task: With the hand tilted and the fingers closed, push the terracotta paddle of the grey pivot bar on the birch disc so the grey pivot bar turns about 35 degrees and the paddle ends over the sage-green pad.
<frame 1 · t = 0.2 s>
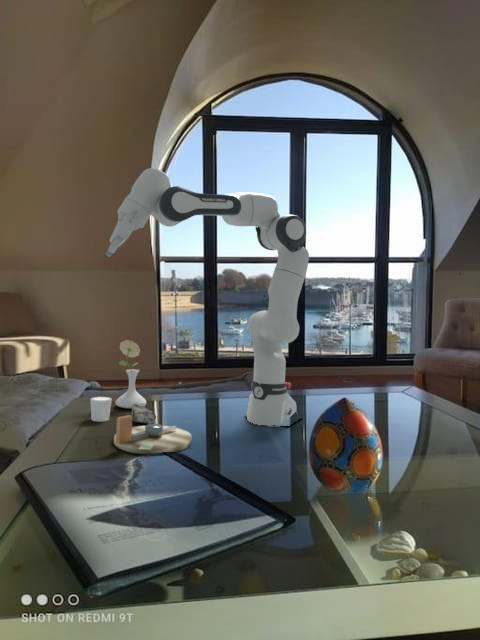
hand: (109, 253, 135), 54 cm above the table, tool tilted 25°, fingers open, 8 cm apart
white cylinder: (100, 419, 150), on the table
stand: (153, 441, 130), on the table
mineral rock: (143, 421, 151), on the table
flower in vase: (129, 407, 169), on the table
grey pivot bar: (148, 424, 128), point 5 cm above the table, hinge at 0.0°
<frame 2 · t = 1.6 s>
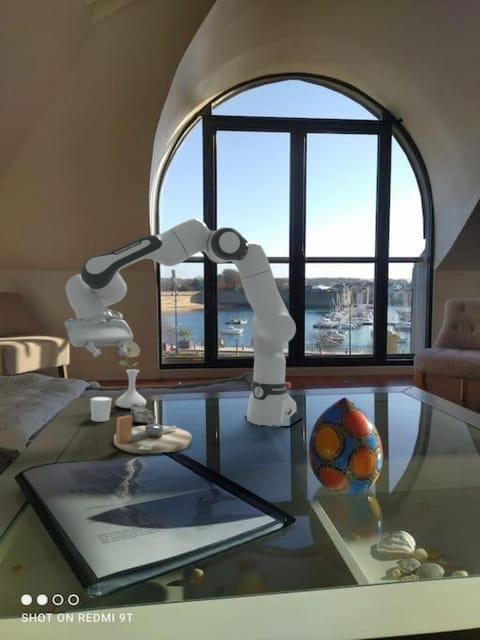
hand: (111, 355, 133), 24 cm above the table, tool tilted 45°, fingers open, 8 cm apart
nothing on the table moved.
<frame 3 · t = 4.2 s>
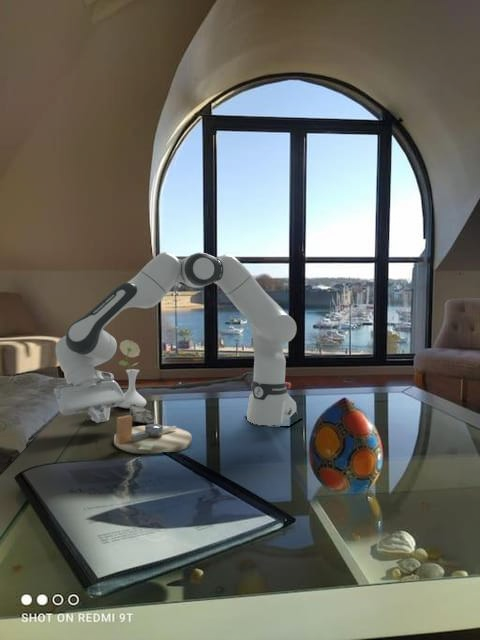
hand: (101, 421, 131), 5 cm above the table, tool tilted 45°, fingers closed
nothing on the table moved.
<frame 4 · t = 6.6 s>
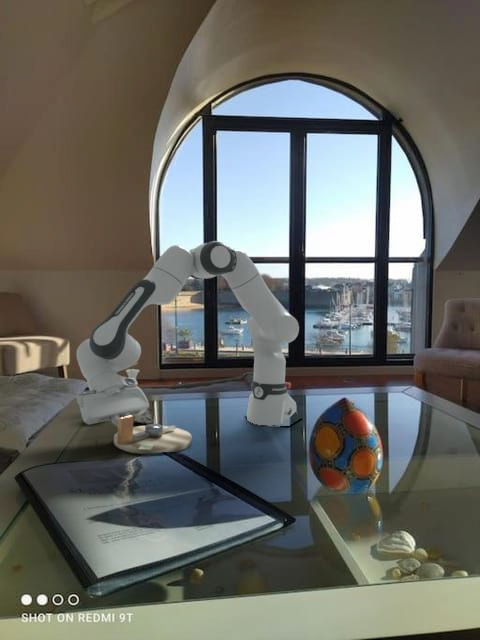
hand: (126, 430, 124), 5 cm above the table, tool tilted 45°, fingers closed, pressing on grey pivot bar
grey pivot bar: (149, 424, 128), point 5 cm above the table, hinge at 2.7°, touching gripper
everything else where it was.
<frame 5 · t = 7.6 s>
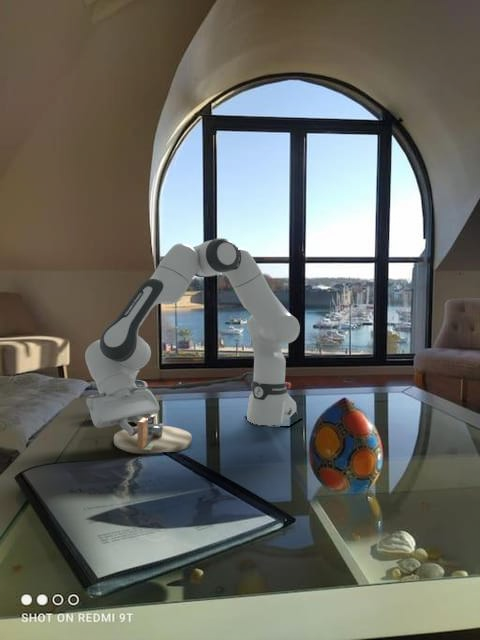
hand: (137, 433, 121), 5 cm above the table, tool tilted 45°, fingers closed
grey pivot bar: (152, 424, 128), point 5 cm above the table, hinge at 32.8°, touching gripper
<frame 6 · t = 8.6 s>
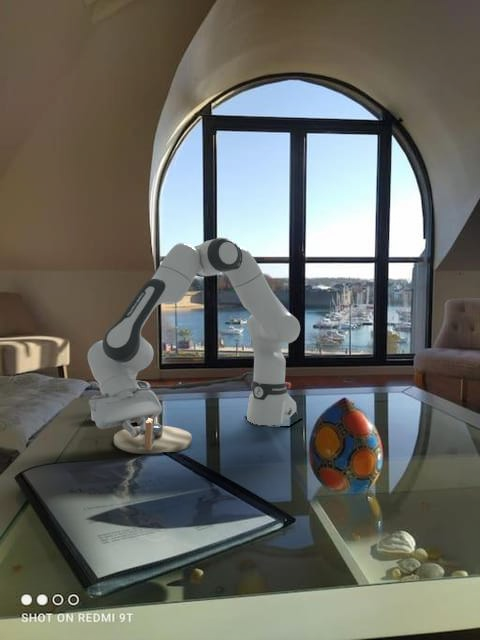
hand: (140, 435, 120), 5 cm above the table, tool tilted 45°, fingers closed
grey pivot bar: (153, 424, 128), point 5 cm above the table, hinge at 41.9°, touching gripper
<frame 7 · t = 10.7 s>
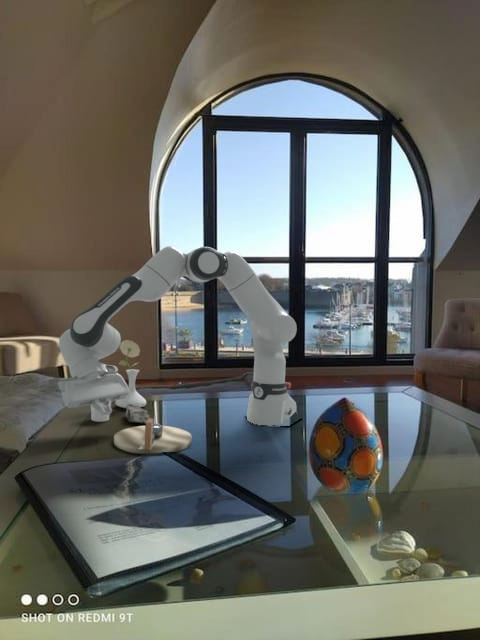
hand: (107, 413, 130), 7 cm above the table, tool tilted 45°, fingers closed
grey pivot bar: (153, 424, 128), point 5 cm above the table, hinge at 41.9°
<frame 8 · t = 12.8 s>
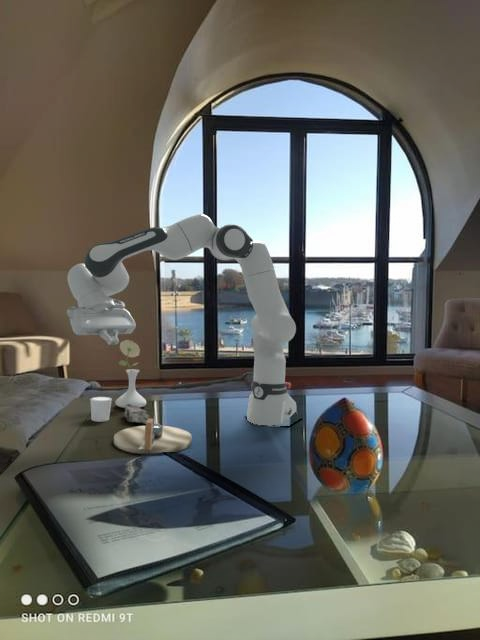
hand: (114, 343, 132), 27 cm above the table, tool tilted 45°, fingers closed
at the end: grey pivot bar at +42° (first picture: +0°) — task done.
